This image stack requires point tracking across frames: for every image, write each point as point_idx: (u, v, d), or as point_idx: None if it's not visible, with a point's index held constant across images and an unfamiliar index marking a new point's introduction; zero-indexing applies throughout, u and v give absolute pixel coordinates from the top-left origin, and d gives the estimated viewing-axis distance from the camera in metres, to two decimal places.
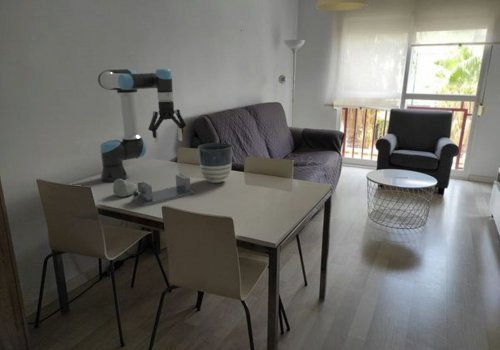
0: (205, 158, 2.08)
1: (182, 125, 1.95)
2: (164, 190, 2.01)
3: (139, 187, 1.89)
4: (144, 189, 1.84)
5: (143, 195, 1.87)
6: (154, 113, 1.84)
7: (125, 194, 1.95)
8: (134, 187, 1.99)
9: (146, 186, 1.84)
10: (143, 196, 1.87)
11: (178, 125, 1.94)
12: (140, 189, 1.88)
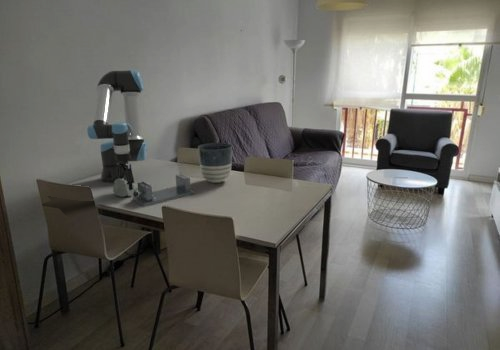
0: (205, 158, 2.08)
1: None
2: (164, 190, 2.01)
3: (139, 187, 1.89)
4: (144, 189, 1.84)
5: (143, 195, 1.87)
6: None
7: (125, 194, 1.95)
8: (134, 187, 1.99)
9: (146, 186, 1.84)
10: (143, 196, 1.87)
11: None
12: (140, 189, 1.88)
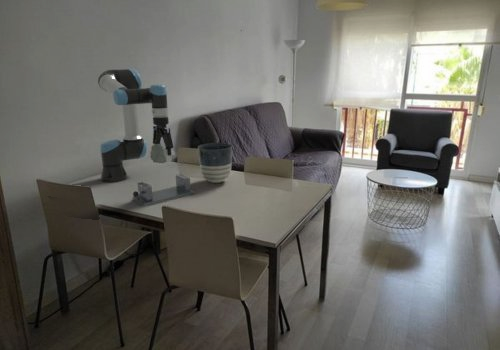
0: (205, 158, 2.08)
1: None
2: (164, 190, 2.01)
3: (139, 187, 1.89)
4: (144, 189, 1.84)
5: (143, 195, 1.87)
6: None
7: (163, 160, 1.86)
8: (171, 153, 1.90)
9: (146, 186, 1.84)
10: (143, 196, 1.87)
11: None
12: (140, 189, 1.88)
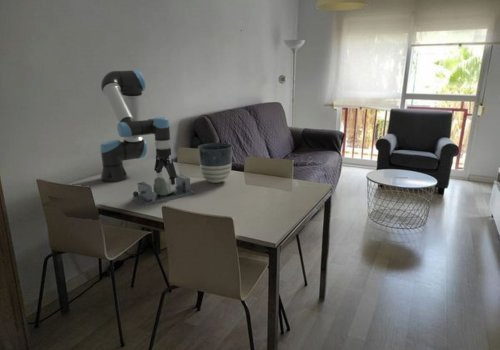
0: (205, 158, 2.08)
1: None
2: None
3: (139, 187, 1.89)
4: (144, 189, 1.84)
5: (143, 195, 1.87)
6: None
7: (165, 193, 1.91)
8: None
9: (146, 186, 1.84)
10: (143, 196, 1.87)
11: None
12: (140, 189, 1.88)
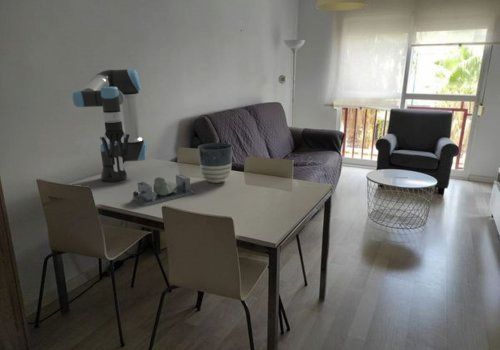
0: (205, 158, 2.08)
1: None
2: None
3: (139, 187, 1.89)
4: (144, 189, 1.84)
5: (143, 195, 1.87)
6: (101, 139, 1.69)
7: (165, 193, 1.91)
8: (174, 185, 1.95)
9: (146, 186, 1.84)
10: (143, 196, 1.87)
11: (120, 152, 1.75)
12: (140, 189, 1.88)
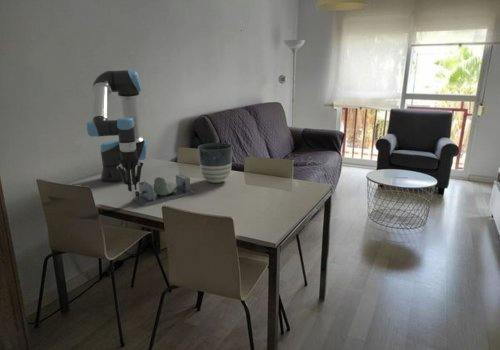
0: (205, 158, 2.08)
1: (135, 181, 1.83)
2: None
3: (140, 187, 1.89)
4: (145, 189, 1.85)
5: (144, 195, 1.87)
6: (118, 169, 1.76)
7: (165, 193, 1.91)
8: (174, 185, 1.95)
9: (147, 186, 1.85)
10: (145, 196, 1.87)
11: (132, 179, 1.82)
12: (141, 189, 1.89)
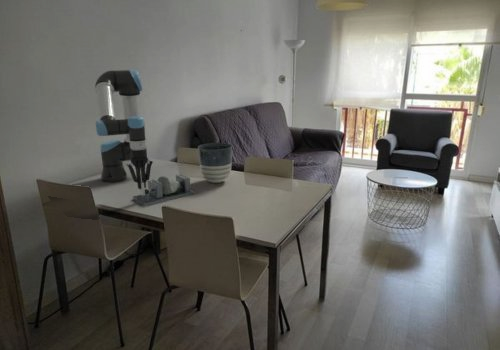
0: (205, 158, 2.08)
1: None
2: None
3: (149, 185, 1.92)
4: (154, 187, 1.88)
5: (153, 193, 1.90)
6: (128, 167, 1.79)
7: (169, 192, 1.92)
8: (177, 184, 1.96)
9: (156, 184, 1.88)
10: (154, 194, 1.90)
11: (142, 177, 1.85)
12: (150, 187, 1.92)
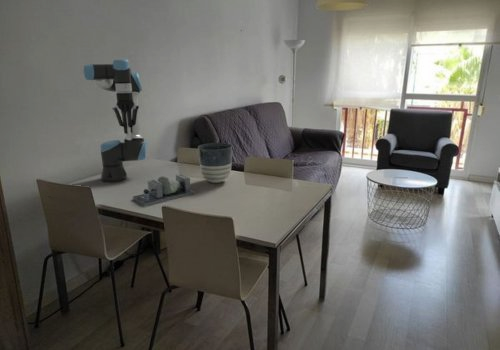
0: (205, 158, 2.08)
1: (131, 123, 1.87)
2: None
3: (149, 185, 1.92)
4: (154, 187, 1.88)
5: (153, 193, 1.90)
6: (114, 110, 1.80)
7: (169, 192, 1.92)
8: (177, 184, 1.96)
9: (156, 184, 1.88)
10: (154, 194, 1.90)
11: (128, 122, 1.86)
12: (150, 187, 1.92)
